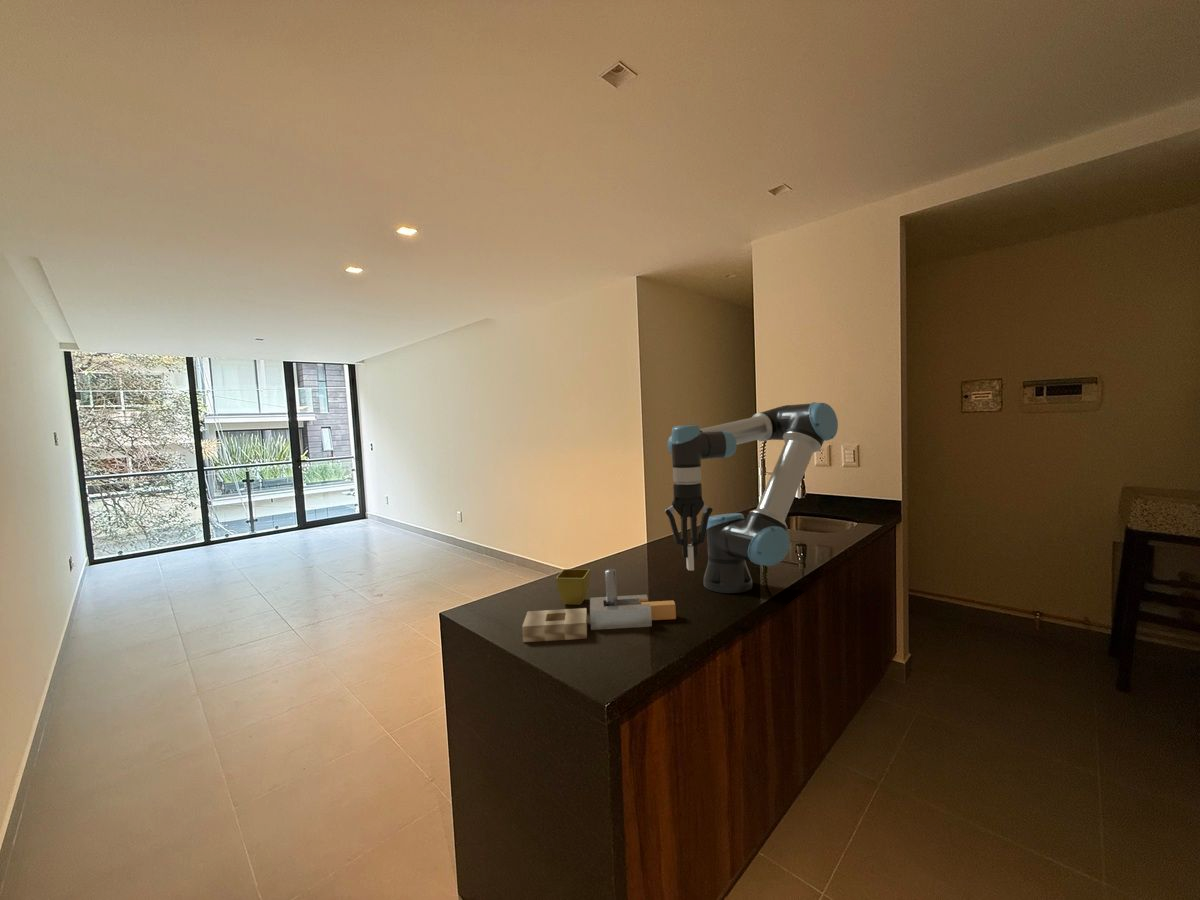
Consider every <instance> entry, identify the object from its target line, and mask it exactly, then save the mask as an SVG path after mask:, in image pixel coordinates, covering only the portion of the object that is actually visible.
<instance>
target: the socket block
mask: <svg viewBox="0 0 1200 900" xmlns="http://www.w3.org/2000/svg"><path fill="white" fill-rule="evenodd" d="M617 602H618V606H607V603H606V596H599V597H589V618H590V620H589V621H590V630H591V631H597V630H599V631H600V630H614V629H632V628H648V627H653V626H652V625H653V624H652V623H653V620H651V606H650V604H641V602H649V598H648V595H647V594H636V595H635V594H633V595H632V594H631V595H617Z"/></svg>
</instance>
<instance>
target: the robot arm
mask: <svg viewBox="0 0 1200 900" xmlns="http://www.w3.org/2000/svg"><path fill="white" fill-rule="evenodd" d="M838 428H839V422H838V417H837V414H836V412H835V410H834V409H833V407H832V406H831V405H830V404H828V403H825V402H811V403H800V404H799V403H798V404H787V405H781V406H778V407H774V408H771V409H768V410H765V411H761V412H757V413H754V414H753V415H752V416H751V417H748V418H743V419H738V420H736V421H735V420H734V421H731V422H725V423H721V424H716V425H712V426H709V427H708V426H707V427H703V428H700V426H699V425H695V424H693V425H692V424H691V425H675V426H673V427H672V429H671V435H670V436H669V437H668V440H667V449H668V451H669V453H670V454H671V455H672V456H671V458H672V459H671V460H672V481H673V482H674V484H673V485H672V487H673V501H672V503H671V505H670V506H669V507H668V508H667V507H666V508H665V509H664V513H665V514H666V516H667V517H668V520H669V523H670V528H671V532H672V535H673V538H674V541H675V543H676V544H677V545H680V546H681V554H682V557H683V558H684V559H686V569H687V570H688V571H690V572H691V571H695V558H697V557H698V545H701V544H703V543H704V542H705V538H706V544H707V565H706V567H705V568H706V569H705V572H704V574H703V586H704V588H705V589H707V590H709V591H712V592H716V593H721V594H739V593H745V592H748V591H750V590H752V588H753V579H752V576H751V573H750V570H749V568H748V565H747V562H750V563H753V564H755V565H759V566H766V567H771V566H775V565H777V564H779V563H781V562H782V561H783V560H784V559H785V557H786V556H787V554H788V552H789V549H790V546H791V545H790V542H789V541H790V540H791V539H790V535H789V533H788V532H787V530H788V526H787V523H786V519H787V516H788V513H789V512H790V508H791V506H792V505H793V502H794V499H795V498H796V495H797V491H799V490H798V489H799V487H800V485H801V482H802V481H803V477H804V475H805V474H806V471H807V468H808V467H809V463H810V461H811V460H812V456H813V454H814V453H817V452H819V451H820V450H821V449H822V447H823V444H824V442H825V441H830V440H832V439H834V438H835V437H836V435H837V433H838ZM777 440H778V441H784V445H783V446H782V450H781V452H780V454H779V456H778V459H777V461H776V463H775V464H774V468H773V471H772V472H771V475H770V477H769V479H768V482H767V483H766V486H765V488H764V492H763V493H762V495H761V497H760V499H759V502H758V504H757V507H756V509H753V510H750V511H749V512H748V514H747V516H746V518H745V517H744V514H743V513H740V512H739V513H736V512H735V513H734V512H733V513H731V512H730V513H724V514H721V513H720V514H715V515H712V516H710V515H711V514H712V513H713V508H712V507H711V506H708V505H706V504H705V502H704V500H703V491H702V490H703V489H702V488H703V487H702V486H703V485H702V483H701V481H702V467H701V466H702V465H701V463H702V460H710V459H725V458H731V457H732V456H733V455H734V454H735V453H736V451H737V445H740V444H741V445H742V444H745V443H750V442H753V441H754V442H755V441H758V442H767V441H777ZM674 510H675V511H676V513H677V514H678V515H679V516H680V530H681V532H680V533H679V530H678V526H677V523H676V520H675V517H674V515H675V511H674ZM701 511H702V515H701V520H700V525H699V529H698V528H697V527H698V526H697V525H698V523H697V522H698V521H697V520H698V515H699V513H700V512H701ZM688 518H689V521H690V524H689V525H690V544H689V541H688V540H689V539H688V538H689V537H688ZM680 534H681V537H680ZM746 561H747V562H746Z"/></svg>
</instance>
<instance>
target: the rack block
mask: <svg viewBox="0 0 1200 900" xmlns="http://www.w3.org/2000/svg"><path fill="white" fill-rule="evenodd" d="M521 630H522V631H521V633H522V642H523V643H531V642H532V643H533V642H549V641H550V642H551V641H569V640H581V639H582V640H587V639H588V612H587V607H582V608H581V607H579V608H565V609H547V610H546V609H544V610H543V609H542V610H528V611H527V612H526V615H525V618H524V619H523V623H522V629H521Z"/></svg>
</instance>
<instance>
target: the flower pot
mask: <svg viewBox="0 0 1200 900" xmlns="http://www.w3.org/2000/svg"><path fill="white" fill-rule="evenodd" d="M590 574H591V569H590V568H588V569H586V568H582V569H581V568H564V569H562V570H561V572H559V574H558V575H557V576H556V577H555V582H556V587H557V593H558V595H559V598H560V599H561V601H562V603H563V604H564V605H573V606H576V605H577V606H580V605H582V604H583V603H584V600H585V598H586V597H587V595H588V591H589V589H590V588H589V587H590V576H591V575H590Z"/></svg>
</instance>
